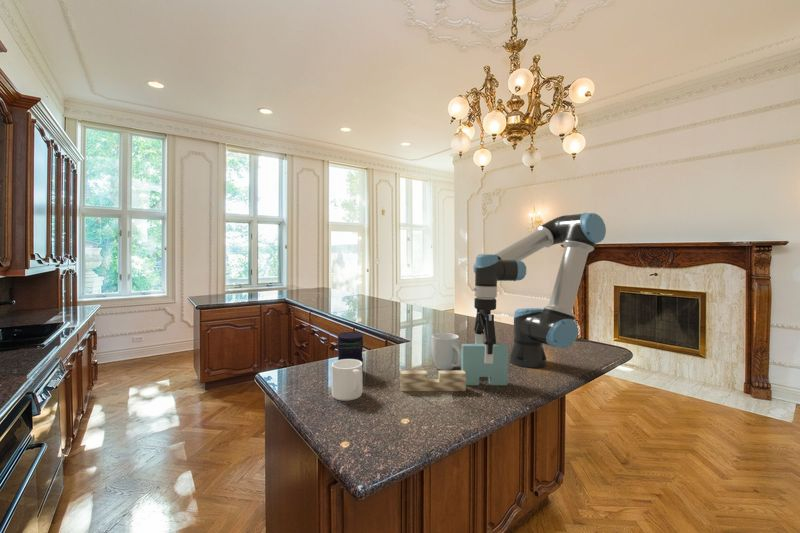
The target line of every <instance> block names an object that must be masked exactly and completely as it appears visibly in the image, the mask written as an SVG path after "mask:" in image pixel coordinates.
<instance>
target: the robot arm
mask: <svg viewBox="0 0 800 533" xmlns="http://www.w3.org/2000/svg"><path fill="white" fill-rule="evenodd" d="M606 228H607V227H606V223H605V221H604V219H603V218H602V217H601V216H600V215H599V214H597V213H595V212H591V213H590V212H583V213H577V214H575V213H574V214H566V215H561V216H558V217H555V218H552V219H551V220H548V221H547V222H545V223H543V224H542V225H540V226H538V227H536V228H535V230H534V231H533V232H532V233H530V234H529V235H527V236H525V237H523V238H521V239H519V240H517V241H516V242H514V243H512V244H510V245H509V246H507V247H505V248H503V249H501V250H499V251H497V252H496V253H494V254H489V253H487V254H486V253H485V254H483V253H479V254H477V256H476V257H475V262H474V263H473V272H474V277H475V280H474V285H475V286H474V288H473V291H474V302H473V303H474V305H473V307H474V309H476V316H475V323H474V327H473V330H474V333H475V341H474V342H475V343H474V344H485V363H490V364H493V352H494V344H497V338H496V328H495V315H494V314H492V313H491V311H494V310H496V309H497V299H496V298H497V296H498V294H497V293H498V292H497V291H498V282H499V281H501V282H507V281H509V282H511V281H513V282H517V281H521V280H523V279H525V277H526V275H527V265H526V263H525V262H523V260H524V259H526V258H528V257H529V256H531V255H533V254H534V253H536V252H538V251H540V250H542V249H544V248H550V247H552V246H555V245H559V244H560V245H561V244H562V246H563V247H564V250H563V254H562V257H561V261H560V264H559V267H558V270H557V271H558V272H557V276H556V279H555V281H554V286H553V289H552V293H551V296H550V300H549V303H548V304H547V305H546V306H545V307H543V308H542V307H541V308H539V307H538V308H537V307H534V308H533V307H528V308H516V309H515V311H514V316H513V344H512V346H511V349H510V352H509V353H508V362H510V363H511V364H513V365H516V366H519V367H524V368H534V369H535V368H542V367H543V368H544V367H545V366H547V364H548V363H547V362H548V359H547V355H546V353H545V348H544V345H547V346H550V347H553V348H558V349H566V348H569V347H570V346H572V345H573V344H574V343H575V341H577V338H578V336H579V335H578V334H579V328H578V323H577V322H576V321H575V319H576V315H575V314H574V313H573V310H574V306H575V302H576V298H577V295H578V291H579V287H580V284H581V281H582V276H583V273H584V270H585V266H586V262H587V259H588V256H589V253H591V252H593V251H595V246H596V244H598V243H600V242H602V241H603V240H604V239H605V237H606V233H607V232H606V231H607V230H606ZM484 337H485V338H484ZM484 339H485V341H484Z"/></svg>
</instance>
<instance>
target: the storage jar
mask: <svg viewBox="0 0 800 533" xmlns="http://www.w3.org/2000/svg"><path fill="white" fill-rule="evenodd" d="M363 337H364V334H363V333H361V332H359V331H358V332H357V331H347V332H346V331H345V332H341V333H338V334H337V343H336V344H337V351H338V352H337V353H338V354H337V355H338V356H337V357H338V358H337V361H338V360H342V359H355V360H359V361H361V362H362V375H363V373H364V359H363V349H364V338H363Z"/></svg>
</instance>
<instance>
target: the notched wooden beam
mask: <svg viewBox="0 0 800 533" xmlns="http://www.w3.org/2000/svg"><path fill="white" fill-rule="evenodd" d="M437 375H438V376H437V378H428V372H427V370H400V380H399V382H400V392H466V391H467V390H466V386H467V385H466V373H465V371H464V370H461V369H460V370H457V369H456V370H453V369H451V370H438V374H437Z"/></svg>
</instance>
